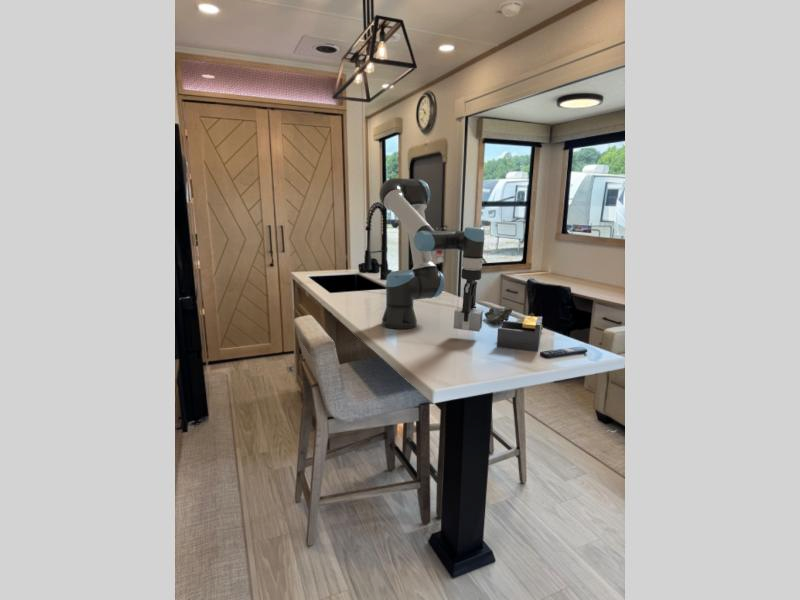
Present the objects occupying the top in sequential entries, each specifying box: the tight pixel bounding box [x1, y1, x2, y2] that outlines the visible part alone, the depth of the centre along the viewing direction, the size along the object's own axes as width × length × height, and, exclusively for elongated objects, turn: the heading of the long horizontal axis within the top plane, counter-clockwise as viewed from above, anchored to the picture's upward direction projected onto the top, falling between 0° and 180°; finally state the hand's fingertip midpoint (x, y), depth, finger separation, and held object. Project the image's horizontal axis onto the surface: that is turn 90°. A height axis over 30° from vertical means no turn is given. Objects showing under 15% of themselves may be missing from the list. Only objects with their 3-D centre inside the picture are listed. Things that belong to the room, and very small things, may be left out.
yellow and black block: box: [515, 312, 544, 332], centre depth 184 cm, size 10×11×10 cm
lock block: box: [452, 307, 484, 332], centre depth 171 cm, size 10×6×7 cm, turn 71°
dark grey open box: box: [496, 315, 543, 353], centre depth 165 cm, size 15×13×10 cm
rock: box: [484, 307, 513, 325], centre depth 199 cm, size 13×13×10 cm
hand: (467, 326), depth 172 cm, fingers closed on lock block, 6 cm apart
